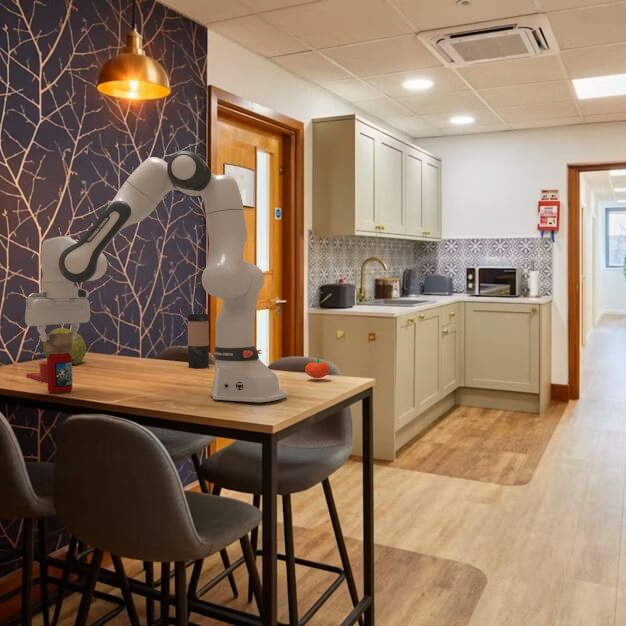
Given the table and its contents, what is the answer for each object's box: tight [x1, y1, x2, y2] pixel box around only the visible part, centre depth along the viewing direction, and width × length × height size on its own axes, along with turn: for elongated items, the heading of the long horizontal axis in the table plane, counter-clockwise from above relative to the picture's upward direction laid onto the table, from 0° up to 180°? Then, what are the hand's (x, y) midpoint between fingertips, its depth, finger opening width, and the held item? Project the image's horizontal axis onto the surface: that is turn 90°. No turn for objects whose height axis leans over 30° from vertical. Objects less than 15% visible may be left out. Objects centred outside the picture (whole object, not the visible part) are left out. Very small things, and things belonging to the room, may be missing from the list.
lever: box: [26, 360, 48, 384], centre depth 218 cm, size 18×9×7 cm, turn 60°
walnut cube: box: [46, 333, 72, 353], centre depth 196 cm, size 5×5×5 cm
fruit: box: [42, 327, 88, 365], centre depth 248 cm, size 16×14×15 cm
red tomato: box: [304, 358, 330, 379], centre depth 225 cm, size 7×8×6 cm
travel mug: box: [187, 313, 210, 370], centre depth 247 cm, size 8×8×20 cm
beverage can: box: [46, 351, 73, 395], centre depth 197 cm, size 7×7×12 cm
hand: (59, 340), depth 196 cm, fingers open, 8 cm apart
